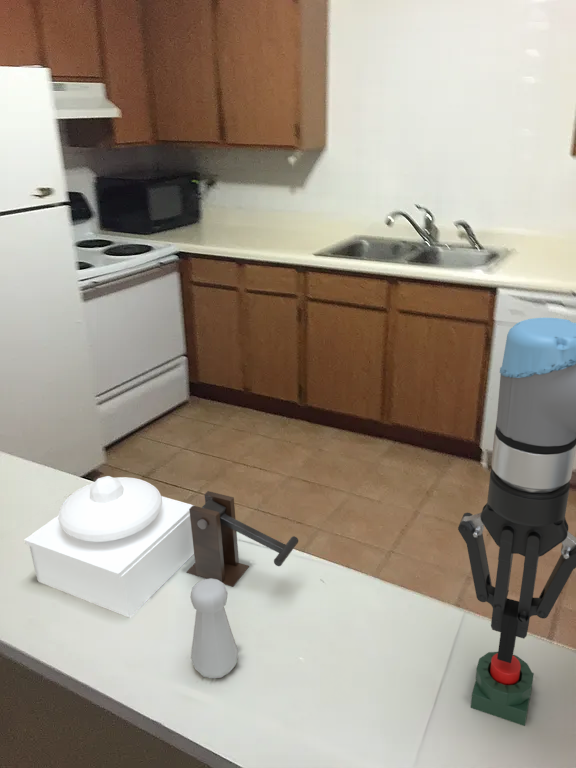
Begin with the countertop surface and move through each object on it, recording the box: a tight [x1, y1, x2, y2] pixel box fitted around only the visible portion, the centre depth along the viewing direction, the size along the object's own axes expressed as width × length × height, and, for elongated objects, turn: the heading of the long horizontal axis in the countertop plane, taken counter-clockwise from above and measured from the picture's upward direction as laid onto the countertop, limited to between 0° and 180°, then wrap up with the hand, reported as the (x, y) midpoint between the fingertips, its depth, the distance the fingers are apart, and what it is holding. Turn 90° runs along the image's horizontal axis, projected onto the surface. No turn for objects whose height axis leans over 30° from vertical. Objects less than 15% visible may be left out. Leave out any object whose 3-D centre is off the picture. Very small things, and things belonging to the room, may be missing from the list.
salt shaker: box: [190, 578, 239, 679], centre depth 81 cm, size 6×6×13 cm
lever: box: [201, 500, 299, 567], centre depth 94 cm, size 14×6×2 cm, turn 65°
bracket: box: [186, 490, 250, 588], centre depth 97 cm, size 8×6×13 cm
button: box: [490, 653, 521, 685], centre depth 77 cm, size 3×3×2 cm
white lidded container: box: [23, 475, 195, 619], centre depth 99 cm, size 18×18×16 cm
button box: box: [470, 651, 535, 727], centre depth 78 cm, size 6×6×4 cm
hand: (506, 652), depth 76 cm, fingers closed
